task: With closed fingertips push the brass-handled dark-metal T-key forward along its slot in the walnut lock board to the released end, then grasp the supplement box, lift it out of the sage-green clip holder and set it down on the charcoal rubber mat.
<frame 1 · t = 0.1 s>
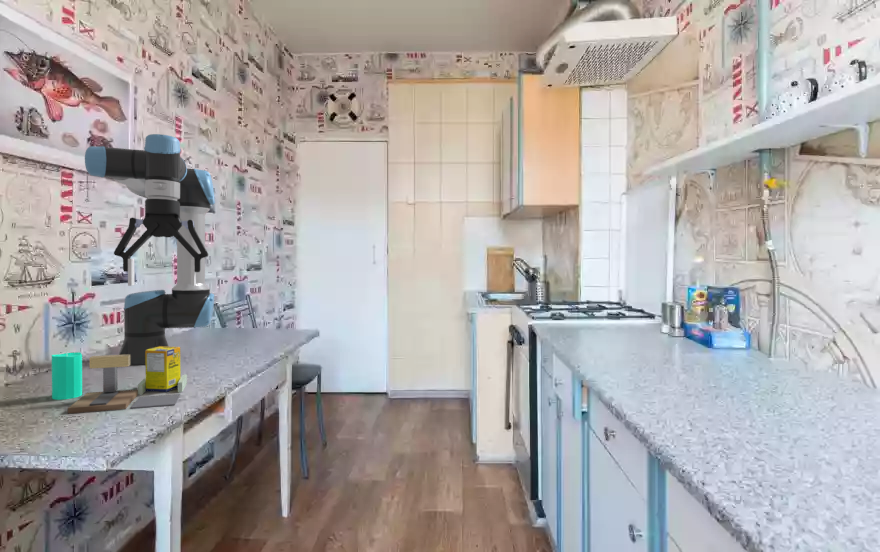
hand: (162, 285, 121), 28 cm above the table, fingers open, 13 cm apart
candle: (67, 397, 121), on the table
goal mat: (156, 401, 118), on the table
clip holder: (163, 388, 129), on the table
t key: (110, 373, 120), point 6 cm above the table, slide at 0.0 cm
supplement box: (163, 389, 129), on the table
lock board: (105, 403, 116), on the table
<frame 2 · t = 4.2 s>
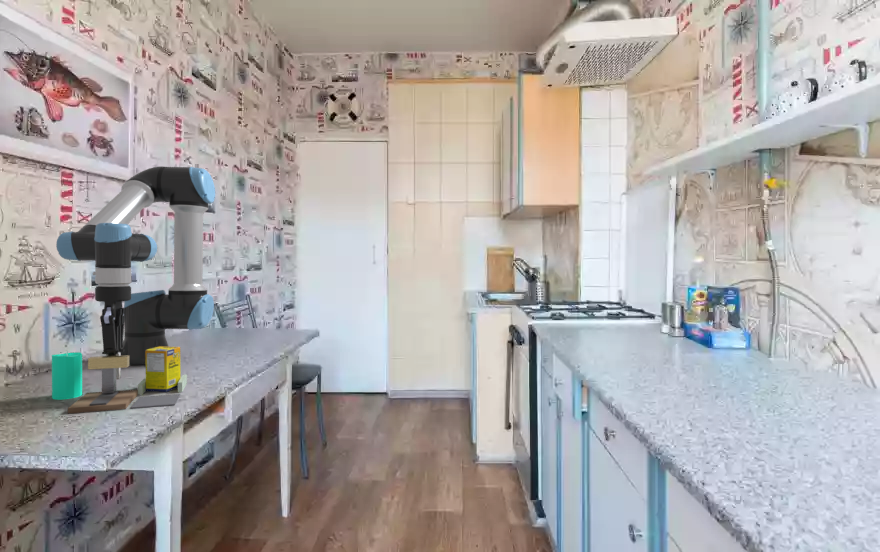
hand: (113, 378, 123), 4 cm above the table, fingers closed
t key: (109, 374, 119), point 6 cm above the table, slide at 1.1 cm, touching gripper
everything else where it was.
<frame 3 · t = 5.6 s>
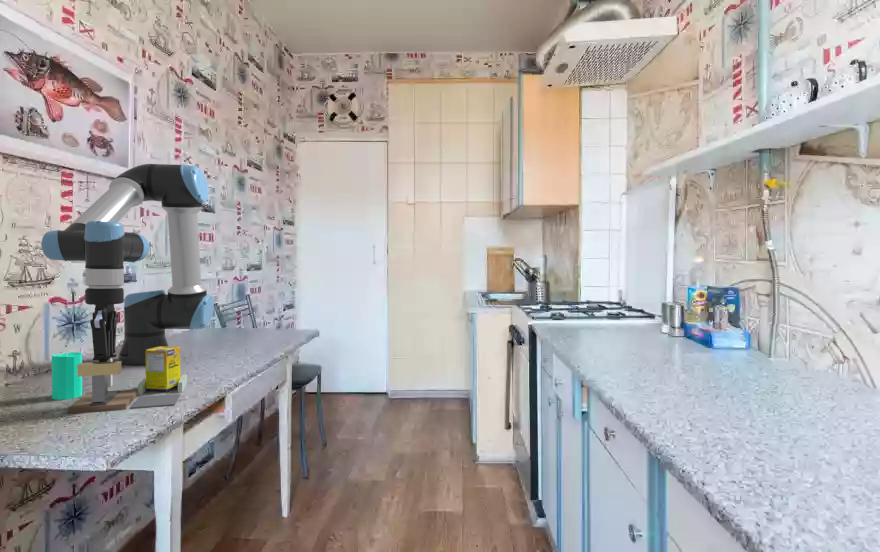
hand: (105, 386, 116), 4 cm above the table, fingers closed
t key: (99, 381, 112), point 6 cm above the table, slide at 8.4 cm
everything else where it was.
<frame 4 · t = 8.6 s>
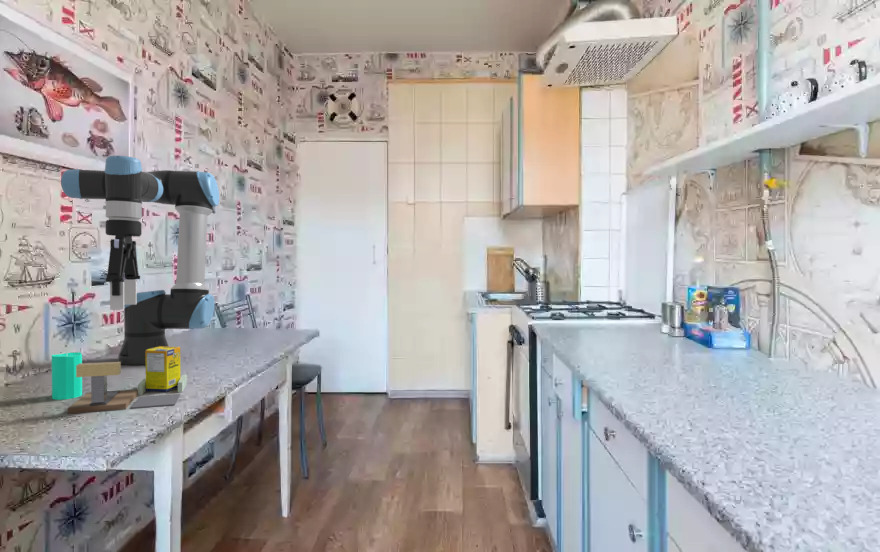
hand: (124, 306, 122), 22 cm above the table, fingers open, 12 cm apart
t key: (99, 382, 111), point 6 cm above the table, slide at 9.0 cm
everything else where it was.
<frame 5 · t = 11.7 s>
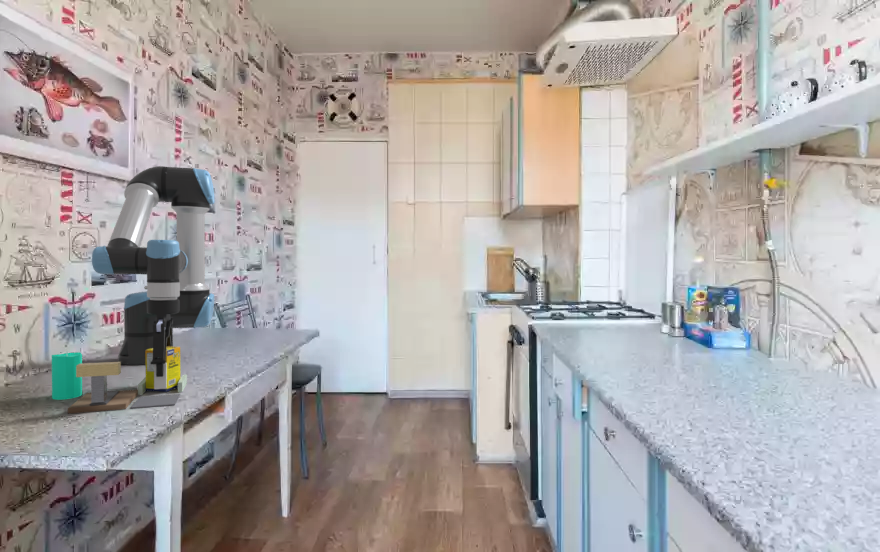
hand: (163, 384, 129), 1 cm above the table, fingers closed on supplement box, 8 cm apart
supplement box: (163, 389, 129), on the table, touching gripper
everything else where it was.
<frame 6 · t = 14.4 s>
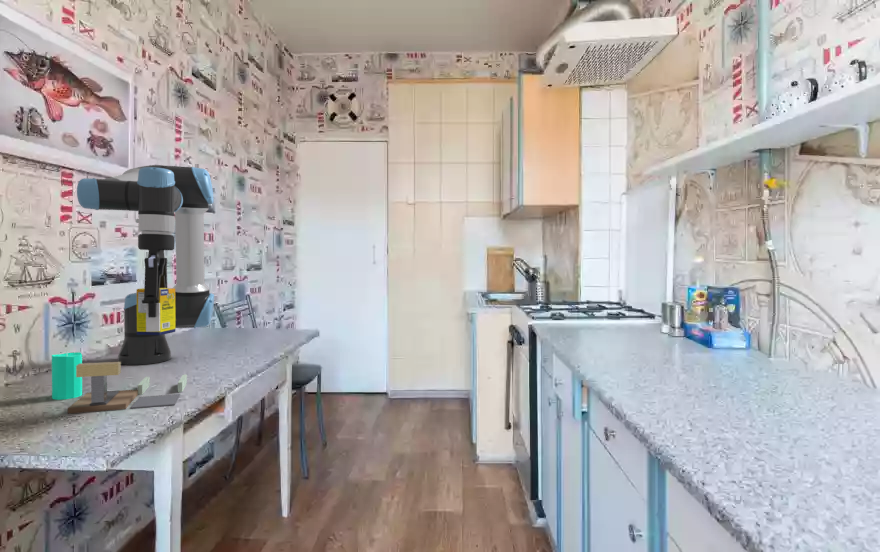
hand: (156, 328, 117), 18 cm above the table, fingers closed on supplement box, 8 cm apart
supplement box: (156, 334, 118), point 16 cm above the table, touching gripper
everything else where it was.
when the fingers open (3 cm above the table, at t = 17.4 s): supplement box drops 1 cm, resting on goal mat.
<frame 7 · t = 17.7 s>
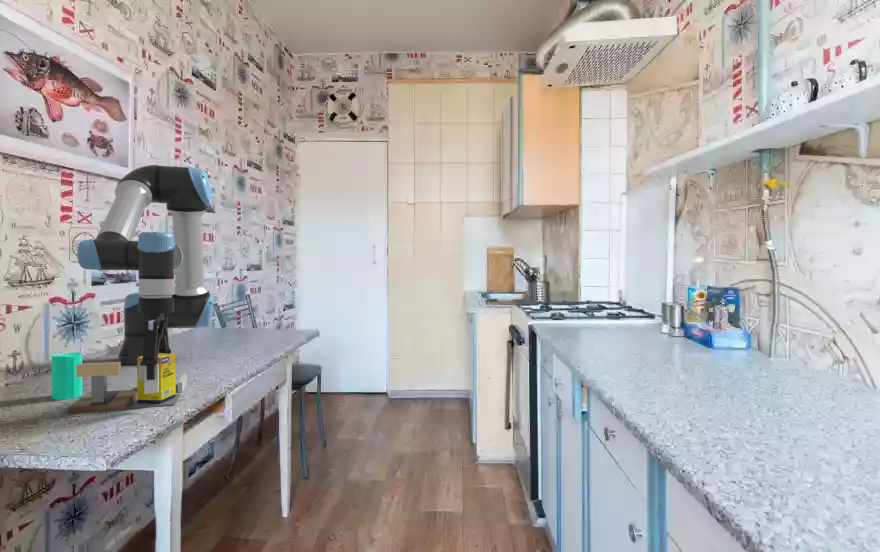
hand: (156, 386, 118), 4 cm above the table, fingers open, 11 cm apart
supplement box: (157, 400, 118), resting on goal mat
everything else where it was.
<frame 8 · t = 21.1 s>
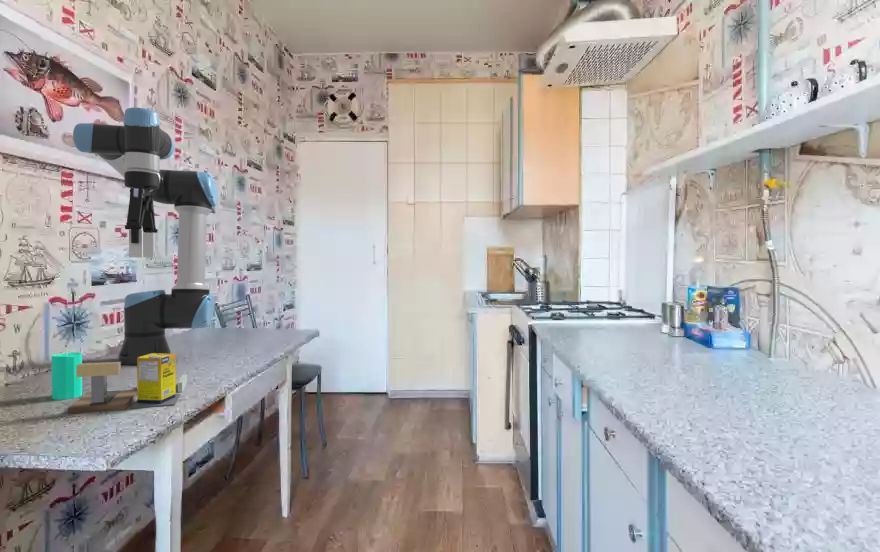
hand: (142, 257, 123), 35 cm above the table, fingers open, 13 cm apart
nothing on the table moved.
at the end: t key slide at 9.0 cm; supplement box inside the target area (0.3 cm from its centre), resting on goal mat; supplement box tilted 0° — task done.
